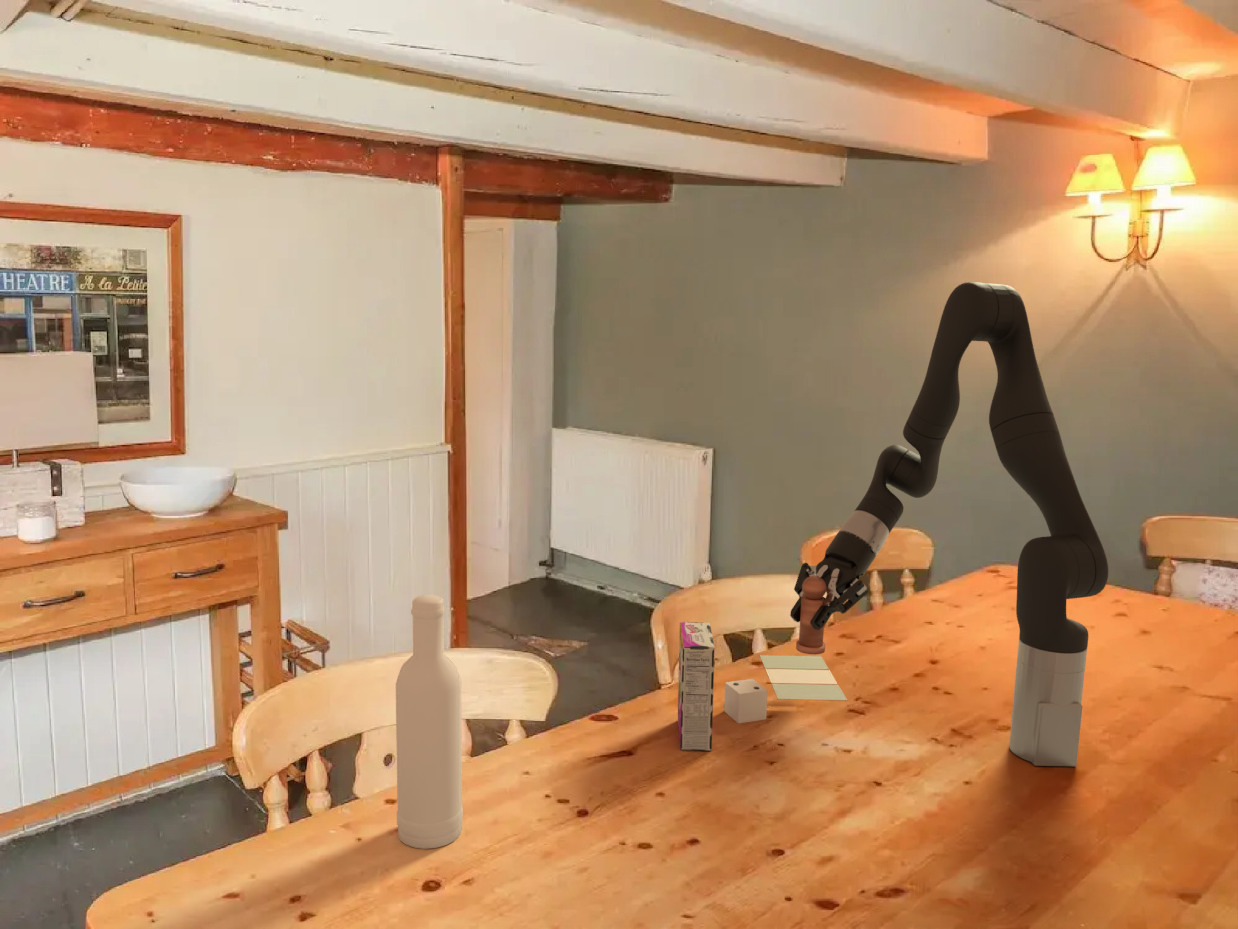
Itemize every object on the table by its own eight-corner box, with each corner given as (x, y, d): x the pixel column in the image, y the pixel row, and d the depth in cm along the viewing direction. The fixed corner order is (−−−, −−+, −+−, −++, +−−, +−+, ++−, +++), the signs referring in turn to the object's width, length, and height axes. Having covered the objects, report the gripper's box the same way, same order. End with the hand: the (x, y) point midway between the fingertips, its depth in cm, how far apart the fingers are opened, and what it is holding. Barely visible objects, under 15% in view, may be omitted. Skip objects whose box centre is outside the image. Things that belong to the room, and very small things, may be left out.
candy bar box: (675, 720, 156) (678, 620, 153) (707, 721, 156) (711, 621, 153) (678, 751, 145) (682, 645, 142) (712, 752, 145) (716, 646, 142)
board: (852, 705, 163) (852, 702, 163) (774, 704, 163) (774, 700, 163) (824, 658, 185) (824, 655, 184) (755, 657, 184) (755, 653, 184)
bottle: (434, 809, 127) (432, 585, 122) (476, 831, 122) (475, 598, 117) (383, 834, 121) (379, 599, 116) (425, 858, 116) (422, 613, 111)
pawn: (827, 654, 163) (832, 580, 161) (799, 654, 163) (803, 580, 161) (821, 644, 168) (826, 572, 166) (793, 644, 168) (797, 571, 166)
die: (766, 720, 157) (767, 689, 156) (738, 724, 155) (739, 693, 154) (751, 707, 161) (752, 678, 161) (724, 711, 160) (725, 682, 159)
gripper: (817, 521, 172) (763, 599, 167) (881, 539, 161) (825, 622, 156) (835, 547, 176) (783, 623, 171) (900, 565, 165) (846, 648, 160)
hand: (804, 622), depth 164 cm, fingers closed on pawn, 4 cm apart
